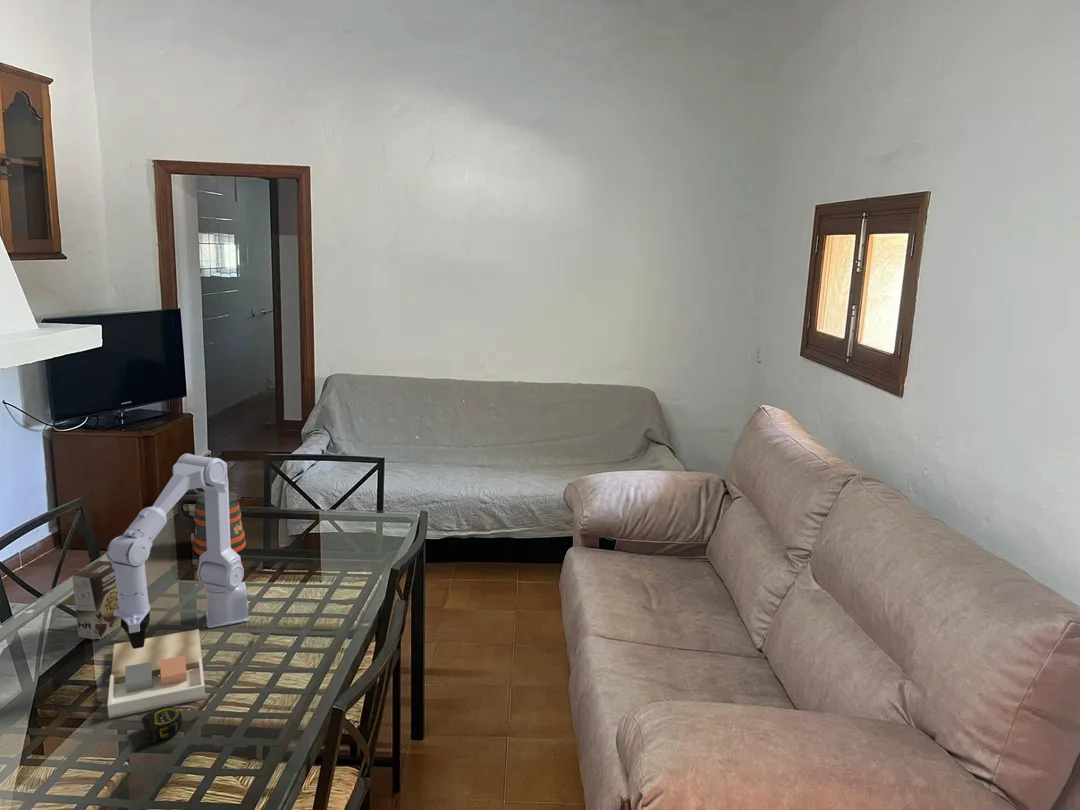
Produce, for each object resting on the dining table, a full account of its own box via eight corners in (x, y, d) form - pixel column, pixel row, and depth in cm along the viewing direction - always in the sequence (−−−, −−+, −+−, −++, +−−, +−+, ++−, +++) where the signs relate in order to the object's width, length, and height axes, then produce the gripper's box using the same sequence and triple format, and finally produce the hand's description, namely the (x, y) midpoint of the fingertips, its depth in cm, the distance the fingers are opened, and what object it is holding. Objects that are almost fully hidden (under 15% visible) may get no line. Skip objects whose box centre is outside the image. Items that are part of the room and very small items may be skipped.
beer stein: (171, 559, 234) (166, 494, 229) (187, 539, 248) (181, 477, 243) (239, 557, 236) (235, 493, 232) (250, 537, 250) (247, 476, 246)
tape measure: (142, 729, 159) (140, 712, 159) (179, 717, 163) (178, 701, 162) (148, 748, 154) (146, 731, 153) (186, 736, 158) (184, 719, 157)
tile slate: (152, 669, 176) (151, 661, 174) (152, 687, 172) (151, 679, 170) (126, 674, 173) (125, 666, 172) (126, 692, 170) (125, 684, 168)
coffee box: (101, 641, 190) (94, 578, 186) (77, 637, 191) (70, 575, 187) (128, 622, 199) (121, 562, 195) (105, 619, 200) (98, 559, 196)
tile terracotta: (185, 663, 178) (185, 655, 177) (187, 680, 174) (186, 672, 173) (161, 668, 176) (160, 659, 175) (161, 685, 172) (160, 677, 171)
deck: (199, 636, 193) (198, 629, 193) (202, 669, 180) (201, 661, 180) (115, 651, 186) (114, 644, 185) (111, 686, 173) (110, 678, 172)
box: (202, 669, 180) (201, 657, 179) (205, 698, 169) (204, 685, 169) (111, 687, 172) (110, 674, 172) (108, 718, 162) (107, 705, 161)
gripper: (112, 578, 177) (119, 634, 181) (109, 608, 165) (116, 667, 168) (148, 573, 180) (153, 627, 183) (147, 602, 167) (153, 660, 171)
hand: (138, 646), depth 176 cm, fingers closed
